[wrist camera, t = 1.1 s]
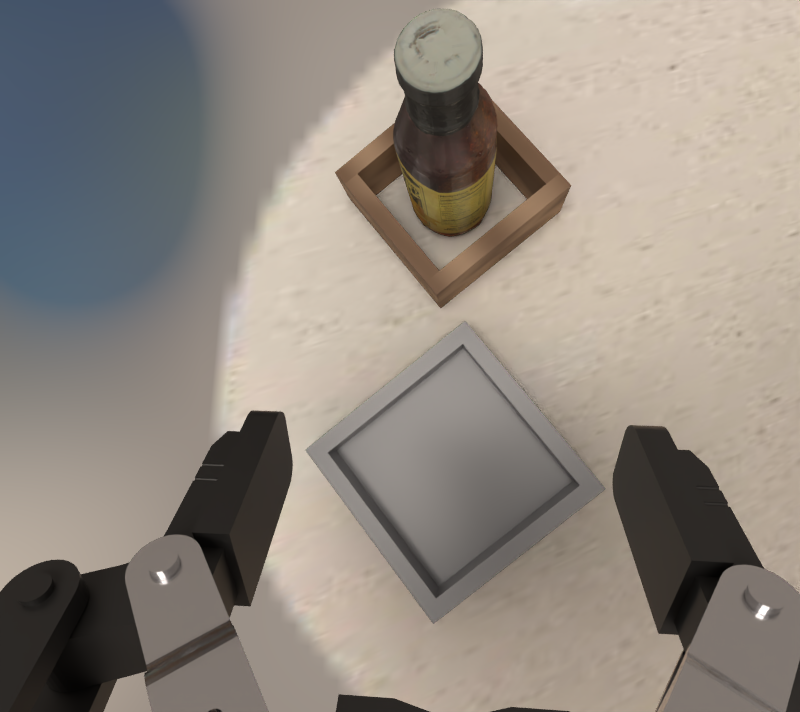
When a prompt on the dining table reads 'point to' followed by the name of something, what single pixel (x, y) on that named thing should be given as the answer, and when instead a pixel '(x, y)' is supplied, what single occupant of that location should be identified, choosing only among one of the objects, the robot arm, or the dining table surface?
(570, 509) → the tray
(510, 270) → the dining table surface
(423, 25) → the sauce bottle
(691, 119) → the dining table surface
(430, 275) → the bottle holder
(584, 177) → the dining table surface
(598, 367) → the dining table surface
